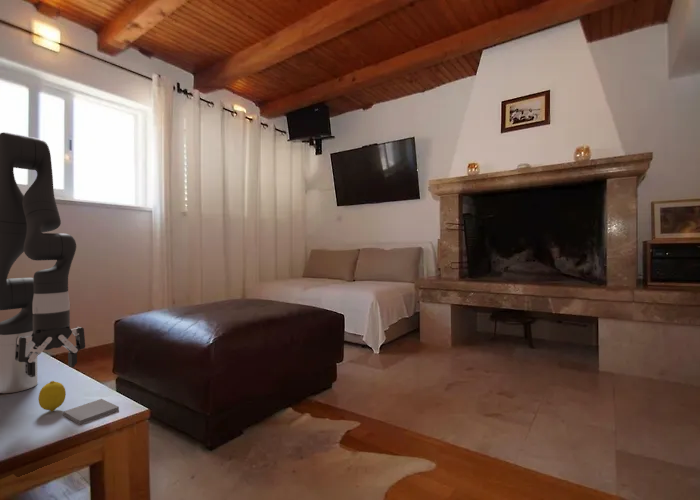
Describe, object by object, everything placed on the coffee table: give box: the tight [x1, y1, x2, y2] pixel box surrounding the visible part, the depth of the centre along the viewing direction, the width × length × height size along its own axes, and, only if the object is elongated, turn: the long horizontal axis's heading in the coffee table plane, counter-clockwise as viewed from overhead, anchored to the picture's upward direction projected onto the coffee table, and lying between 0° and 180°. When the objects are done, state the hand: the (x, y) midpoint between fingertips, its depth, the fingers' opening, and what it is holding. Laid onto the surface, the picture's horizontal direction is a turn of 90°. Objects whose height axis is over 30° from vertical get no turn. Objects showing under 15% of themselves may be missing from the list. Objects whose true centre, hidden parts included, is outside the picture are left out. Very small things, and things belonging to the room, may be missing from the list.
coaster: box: [62, 398, 120, 426], centre depth 95 cm, size 9×9×1 cm
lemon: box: [37, 380, 66, 412], centre depth 96 cm, size 6×6×8 cm
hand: (52, 371), depth 95 cm, fingers open, 8 cm apart
